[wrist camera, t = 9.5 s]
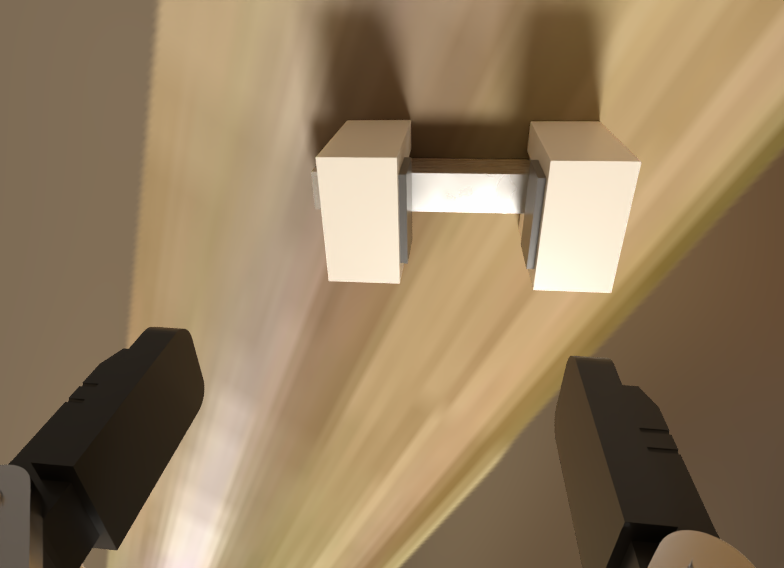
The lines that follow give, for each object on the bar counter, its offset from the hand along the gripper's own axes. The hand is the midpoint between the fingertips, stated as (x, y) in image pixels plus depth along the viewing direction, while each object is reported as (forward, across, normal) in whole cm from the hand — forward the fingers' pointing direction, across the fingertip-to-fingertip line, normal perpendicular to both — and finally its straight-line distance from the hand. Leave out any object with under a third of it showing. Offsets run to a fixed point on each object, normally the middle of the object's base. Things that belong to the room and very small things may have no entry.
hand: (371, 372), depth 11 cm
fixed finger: (+23, -8, +4) cm, 25 cm away
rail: (+23, -2, +4) cm, 24 cm away
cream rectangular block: (+23, +3, +4) cm, 24 cm away
